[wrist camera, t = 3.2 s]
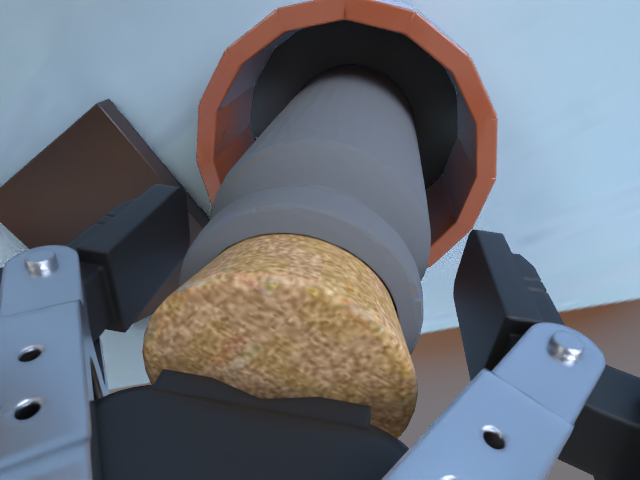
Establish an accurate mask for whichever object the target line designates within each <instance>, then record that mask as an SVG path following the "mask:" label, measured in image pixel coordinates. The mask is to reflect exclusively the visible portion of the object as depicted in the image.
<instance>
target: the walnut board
mask: <svg viewBox="0 0 640 480" xmlns="http://www.w3.org/2000/svg"><path fill="white" fill-rule="evenodd" d="M155 184H160V185H168V186H175V187H182V186H181V185H180V184H179V182H178V181H177V180H176V179H175V178H174V176H173V175H172V174H171V173H170V171H169V170H168V169H167V168H166V167H165V165H164V164H163V163H162V162H161V161H160V159H159V158H158V157H157V156H156V155H155V153H154V152H153V151H152V150H151V149H150V147H149V146H148V145H147V144H146V143H145V141H144V140H143V139H142V138H141V137H140V135H139V134H138V133H137V132H136V131H135V129H134V128H133V127H132V126H131V125H130V123H129V122H128V121H127V120H126V119H125V117H124V116H123V115H122V114H121V113H120V111H119V110H118V109H117V108H116V107H115V105H114V104H113V103H112V102H111V101H110V99H107V100H104V101H102V102H99V103H97V104H96V105H95V106H93V107H92V108H91V109H90V110H89V111H88V112H86V113H85V114H84V115H83V116H82V117H81V118H80V119H78V120H77V121H76V122H75V123H74V124H73V125H71V126H70V127H69V128H68V129H67V130H66V131H65V132H63V133H62V134H61V135H60V136H59V137H58V138H57V139H55V140H54V141H53V142H52V143H51V144H50V145H48V146H47V147H46V148H45V149H44V150H43V151H42V152H40V153H39V154H38V155H37V156H36V157H35V158H34V159H32V160H31V161H30V162H29V163H28V164H27V165H25V166H24V167H23V168H22V169H21V170H20V171H19V172H17V173H16V174H15V175H14V176H13V177H12V178H10V179H9V180H8V181H7V182H6V183H5V184H4V185H2V186H1V187H0V222H1V223H2V224H3V225H4V226H5V227H6V228H7V229H9V230H10V231H11V232H12V233H13V234H14V235H15V236H16V237H17V238H18V239H19V240H20V241H21V242H23V243H24V244H25V245H26V246H27V247H28V248H29V249H32V248H36V247H41V246H48V245H61V246H66V245H67V244H68V243H70V242H71V241H72V240H74V239H75V238H76V237H78V236H79V235H80V234H81V233H83V232H84V231H85V230H87V229H88V228H89V227H90V226H92V225H93V224H94V223H95V224H97V221H98V220H99V219H101V218H102V217H103V216H107V213H109V212H110V211H111V210H112V209H114V208H115V207H116V206H118V205H119V204H122V203H124V202H127V201H129V200H132V199H134V198H138V197H139V196H141V195H142V194H143V193H144V192H146V191H147V190H148V189H149V188H151V187H152V186H153V185H155ZM182 188H183V187H182ZM183 189H184V188H183ZM185 192H186V191H185ZM186 196H187V206H188V217H189V228H190V244H189V248H190V246H191V245H192V243H193V241H194V240H195V239H196V237H197V236H198V234H199V233H200V232H201V230H202V229H203V228H204V227H205V226H206V225H207V224H208V223H209V222H210V220H209V218H208V217H207V216H206V215H205V214H204V212H203V211H202V210H201V209H200V208H199V206H198V205H197V204H196V203H195V202H194V200H193V199H192V198H191V197H190V196H189V194H188V193H187V192H186ZM184 259H185V257H184V258H183V260H182V261H181V262H180V263H179V265H178V266H177V267H176V269H175V270H174V271H173V272H172V274H171V275H170V276H169V277H168V279H167V280H166V281H165V283H164V284H163V285H162V286H161V288H160V289H159V290H158V291H157V293H156V294H155V295H154V297H153V298H152V299H151V300H150V302H149V303H148V304H147V306H146V307H145V308H144V309H143V311H142V312H141V313H140V314H139V316H138V317H137V318H136V320H135V321H134V322H133V323H135V322H137V321H139V320H141V319H143V318H145V317H147V316H149V315H151V314H153V313H154V312H155V311H156V310H157V308H158V307H159V306H160V305H161V303H162V302H163V301H164V300H165V299H166V298H167V297H168V296H169V295H171V294H172V293H173V292H174V291H176V290H177V289H178V288H179V277H180V273H181V269H182V265H183V261H184ZM133 323H132V324H133Z"/></svg>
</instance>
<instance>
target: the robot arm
mask: <svg viewBox="0 0 640 480" xmlns="http://www.w3.org/2000/svg"><path fill="white" fill-rule="evenodd" d="M189 244H190V228H189V217H188V206H187V196H186V192H185V190H184V189H183V188H182V187H175V186H168V185H160V184H155V185H153V186H152V187H151V188H149V189H148V190H147V191H146V192H144V193H143V194H142V195H141V196H139V197H138V198H134V199H132V200H129V201H127V202H124V203H122V204H119V205H118V206H116V207H115V208H114V209H112V210H111V211H110V212H109V213H107V216H103V217H102V218H101V219H99V220H98V221H97V224H95V223H94V224H93V225H92V226H90V227H89V228H88V229H87V230H85V231H84V232H83V233H81V234H80V235H79V236H78V237H76V238H75V239H74V240H72V241H71V242H70V243H68V244H67V245H66V246H61V245H48V246H41V247H36V248H32V249H29V250H26V251H24V252H21V253H19V254H17V255H16V256H14V257H12V258H11V259H10V260H9V261H8V262H7V263H6V264H5V265H4V267H3V268H0V480H546V478H547V476H548V474H549V473H550V471H551V469H552V467H553V465H554V464H555V462H556V460H557V459H559V460H561V461H563V462H565V463H568V464H570V465H572V466H574V467H576V468H578V469H580V470H583V471H585V472H587V473H589V474H591V475H593V476H594V479H595V480H640V378H639V377H636V376H633V375H631V374H628V373H626V372H623V371H620V370H617V369H615V368H612V367H610V366H608V365H606V361H605V357H604V355H603V353H602V352H601V350H600V349H599V348H598V347H597V346H596V345H595V343H593V342H592V341H591V340H590V339H589V338H587V337H586V336H584V335H583V334H581V333H579V332H578V331H575V330H574V329H571V328H569V327H566V326H565V325H564V323H563V322H562V319H561V317H560V316H559V314H558V312H557V310H556V308H555V306H554V304H553V302H552V300H551V298H550V296H549V295H548V293H546V289H545V287H544V285H543V283H542V282H540V281H541V279H540V277H539V275H538V274H537V272H536V270H535V268H534V266H532V265H531V264H530V263H529V262H528V261H527V260H526V259H525V258H523V257H522V256H521V255H520V254H513V253H511V251H510V248H509V246H508V244H507V242H506V240H505V238H504V236H503V234H501V233H494V232H487V231H480V230H472V231H471V232H470V234H469V236H468V239H467V242H466V246H465V249H464V252H463V255H462V258H461V262H460V265H459V268H458V271H457V274H456V278H455V282H454V292H453V293H454V302H455V307H456V312H457V317H458V322H459V327H460V331H461V336H462V341H463V346H464V351H465V356H466V361H467V365H468V370H469V375H470V380H471V382H470V383H469V384H468V385H467V387H466V388H465V389H464V390H463V391H462V392H461V393H460V394H459V395H458V396H457V397H456V398H455V400H454V401H453V402H452V403H451V404H450V405H449V406H448V407H447V408H446V410H445V411H444V412H443V413H442V414H441V415H440V416H439V417H438V418H437V419H436V420H435V421H434V422H433V424H432V425H431V426H430V427H429V428H428V429H427V430H426V431H425V432H424V433H423V434H422V436H421V437H420V438H419V439H418V440H417V441H416V442H415V443H414V444H413V445H412V446H411V448H410V449H409V448H408V447H407V446H406V445H405V444H403V443H402V442H401V441H399V440H398V439H397V438H395V437H394V436H393V435H391V434H390V433H388V432H386V431H384V430H383V429H381V428H379V427H377V426H375V425H372V424H370V421H371V406H368V405H362V404H356V403H351V402H345V401H340V400H334V399H329V398H323V397H299V398H276V399H262V398H258V397H255V396H253V395H251V394H248V393H246V392H244V391H242V390H239V389H237V388H235V387H233V386H230V385H228V384H226V383H224V382H221V381H219V380H217V379H215V378H212V377H207V376H201V375H195V374H190V373H184V372H179V371H173V370H168V369H163V370H162V371H161V373H160V375H159V376H158V378H157V380H156V381H155V383H154V384H153V385H146V386H139V387H133V388H129V389H125V390H121V391H118V392H115V393H112V394H109V390H108V383H107V376H106V369H105V362H104V355H103V348H102V343H101V339H100V335H101V334H102V333H103V331H104V330H105V329H107V330H113V331H119V332H126V331H127V330H128V328H129V327H130V326H131V325H132V323H133V322H134V321H135V320H136V318H137V317H138V316H139V314H140V313H141V312H142V311H143V309H144V308H145V307H146V306H147V304H148V303H149V302H150V300H151V299H152V298H153V297H154V295H155V294H156V293H157V291H158V290H159V289H160V288H161V286H162V285H163V284H164V283H165V281H166V280H167V279H168V277H169V276H170V275H171V274H172V272H173V271H174V270H175V269H176V267H177V266H178V265H179V263H180V262H181V261H182V260H183V258H184V257H185V256H186V254H187V251H188V249H189Z"/></svg>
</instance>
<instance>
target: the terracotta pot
mask: <svg viewBox="0 0 640 480" xmlns="http://www.w3.org/2000/svg"><path fill="white" fill-rule="evenodd" d="M342 20H347V21H351V22H355V23H359V24H363V25H367V26H371V27H375V28H379V29H383V30H387V31H392V32H396V33H400V34H404V35H405V36H407V37H408V38H409V39H410V40H411V41H413V42H414V43H415V44H416V45H418V46H419V47H420V48H421V49H423V50H424V51H425V52H426V53H427V54H429V55H430V56H431V57H432V58H434V59H435V60H436V61H437V62H438V63H440V64H441V65H442V66H443V67H445V69H446V72H447V74H448V76H449V78H450V80H451V82H452V84H453V86H454V88H455V90H456V92H457V132H458V135H457V138H456V140H455V143H454V146H453V148H452V151H451V153H450V156H449V158H448V161H447V163H446V166H445V168H444V171H443V173H442V175H441V176H440V177H439V178H438V179H437V180H436V181H435V182H434V183H433V184H432V185H431V186H430V187H429V188H428V189H427V190H426V198H427V206H428V214H429V221H430V229H431V248H430V256H429V261H428V266H427V268H428V267H430V266H432V265H433V264H434V263H435V262H436V261H438V260H439V259H440V258H441V257H442V256H443V255H444V254H445V253H446V252H447V251H449V250H450V249H451V248H452V247H453V246H454V245H455V244H456V243H457V242H458V241H459V240H461V239H462V238H463V237H464V236H465V235H466V234H467V233H468V232H469V231H470V230H471V229H472V228H473V226H474V224H475V222H476V220H477V218H478V216H479V214H480V212H481V209H482V207H483V205H484V203H485V201H486V199H487V197H488V195H489V193H490V191H491V188H492V186H493V184H494V182H495V180H496V165H497V123H498V119H497V114H496V112H495V110H494V108H493V105H492V103H491V101H490V99H489V96H488V94H487V92H486V90H485V87H484V85H483V83H482V81H481V78H480V76H479V74H478V72H477V70H476V67H475V65H474V63H473V61H472V58H471V57H469V54H468V53H466V52H465V51H464V50H463V49H462V48H461V47H460V46H459V45H458V44H457V43H455V42H454V41H453V40H452V39H451V38H450V37H449V36H448V35H446V34H445V33H444V32H443V31H442V30H440V29H439V28H438V27H437V26H436V25H434V24H433V23H432V22H431V21H430V20H428V19H427V18H426V17H425V16H424V15H422V14H421V13H420V12H419V11H418V10H416V9H415V8H414V7H413V6H412V5H409V4H407V3H403V2H399V1H395V0H313V1H308V2H303V3H299V4H294V5H290V6H285V7H281V8H278V9H277V10H274V11H273V12H272V13H270V14H269V15H268V16H267V17H265V18H264V19H263V20H262V21H260V22H259V23H258V24H256V25H255V26H254V27H253V28H251V29H250V30H249V31H248V32H246V33H245V34H244V35H243V36H241V37H240V38H239V39H238V40H236V41H235V42H234V43H233V44H231V45H230V46H229V47H228V48H227V49H226V50H225V51H224V53H223V55H222V57H221V59H220V61H219V63H218V65H217V67H216V69H215V71H214V73H213V75H212V77H211V80H210V82H209V84H208V86H207V88H206V90H205V92H204V94H203V96H202V98H201V100H200V103H199V108H198V132H197V156H196V158H197V160H196V161H197V164H198V167H199V170H200V173H201V175H202V178H203V181H204V184H205V187H206V190H207V192H208V195H209V198H210V201H211V204H212V205H213V202H214V199H215V196H216V193H217V191H218V189H219V188H220V186H221V184H222V182H223V181H224V179H225V177H226V176H227V174H228V172H229V171H230V170H231V169H232V167H233V166H234V165H235V164H236V163H237V162H238V160H239V159H240V158H241V157H242V156H243V155H244V153H245V152H246V151H247V150H248V149H249V148H250V146H251V145H252V144H253V143H254V142H255V140H254V137H253V133H252V129H251V126H250V122H251V113H252V104H253V95H254V86H255V83H256V81H257V80H258V78H259V76H260V74H261V73H262V71H263V69H264V67H265V65H266V64H267V62H268V60H269V58H270V56H271V55H272V53H273V51H274V49H275V48H276V47H277V46H278V45H280V44H281V43H282V42H284V41H285V40H286V39H288V38H289V37H290V36H292V35H293V34H294V33H296V32H297V31H298V30H300V29H303V28H308V27H313V26H318V25H323V24H328V23H332V22H337V21H342Z"/></svg>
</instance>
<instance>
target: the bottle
mask: <svg viewBox="0 0 640 480" xmlns="http://www.w3.org/2000/svg"><path fill="white" fill-rule="evenodd" d="M430 248H431V229H430V221H429V214H428V206H427V198H426V191H425V185H424V179H423V173H422V166H421V160H420V154H419V148H418V142H417V136H416V129H415V124H414V120H413V115H412V111H411V108H410V105H409V103H408V100H407V98H406V97H405V95H404V93H403V92H402V90H401V89H400V88H399V87H398V85H397V84H396V83H394V82H393V81H392V80H391V79H390V78H389V77H388V76H386V75H385V74H383V73H381V72H379V71H377V70H375V69H372V68H369V67H366V66H358V65H343V66H338V67H333V68H331V69H329V70H326V71H324V72H322V73H320V74H319V75H317V76H315V77H314V78H313V79H312V80H311V81H309V82H308V83H307V84H306V85H305V86H304V87H303V88H302V89H301V90H300V91H299V92H298V93H297V95H296V96H295V97H294V98H293V99H292V100H291V101H290V102H289V103H288V104H287V106H286V107H285V108H284V109H283V110H282V111H281V112H280V113H279V114H278V115H277V117H276V118H275V119H274V120H273V121H272V122H271V123H270V124H269V125H268V127H267V128H266V129H265V130H264V131H263V132H262V134H261V135H260V136H259V137H258V138H257V139H256V141H255V142H254V143H253V144H252V145H251V146H250V148H249V149H248V150H247V151H246V152H245V153H244V155H243V156H242V157H241V158H240V159H239V160H238V162H237V163H236V164H235V165H234V166H233V167H232V169H231V170H230V171H229V172H228V174H227V176H226V177H225V179H224V181H223V182H222V184H221V186H220V188H219V189H218V191H217V193H216V196H215V199H214V202H213V205H212V210H211V216H210V222H209V223H208V224H207V225H206V226H205V227H204V228H203V229H202V230H201V232H200V233H199V234H198V236H197V237H196V239H195V240H194V241H193V243H192V245H191V246H190V248H189V249H188V251H187V254H186V256H185V259H184V261H183V265H182V269H181V273H180V277H179V288H178V289H177V290H176V291H174V292H173V293H172V294H171V295H169V296H168V297H167V298H166V299H165V300H164V301H163V302H162V303H161V305H160V306H159V307H158V308H157V310H156V311H155V312H154V313H153V315H152V316H151V318H150V320H149V322H148V325H147V328H146V331H145V334H144V342H143V350H142V352H143V358H144V364H145V369H146V372H147V375H148V377H149V380H150V382H151V384H152V385H153V384H154V383H155V381H156V380H157V378H158V376H159V375H160V373H161V371H162V370H163V369H168V370H173V371H179V372H184V373H190V374H195V375H201V376H207V377H212V378H215V379H217V380H219V381H221V382H224V383H226V384H228V385H230V386H233V387H235V388H237V389H239V390H242V391H244V392H246V393H248V394H251V395H253V396H255V397H258V398H262V399H276V398H299V397H323V398H329V399H334V400H340V401H345V402H351V403H356V404H362V405H368V406H371V421H370V424H372V425H375V426H377V427H379V428H381V429H383V430H384V431H386V432H388V433H390V434H391V435H393V436H394V437H395V438H398V437H399V436H401V434H402V433H403V432H404V430H405V429H406V428H407V426H408V424H409V422H410V419H411V417H412V415H413V413H414V410H415V406H416V401H417V395H418V385H417V379H416V373H415V369H414V366H413V363H412V360H411V357H410V355H411V353H412V351H413V350H414V348H415V346H416V344H417V341H418V339H419V337H420V332H421V328H422V323H423V294H422V287H421V280H422V278H423V276H424V274H425V271H426V268H427V266H428V261H429V256H430Z"/></svg>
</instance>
